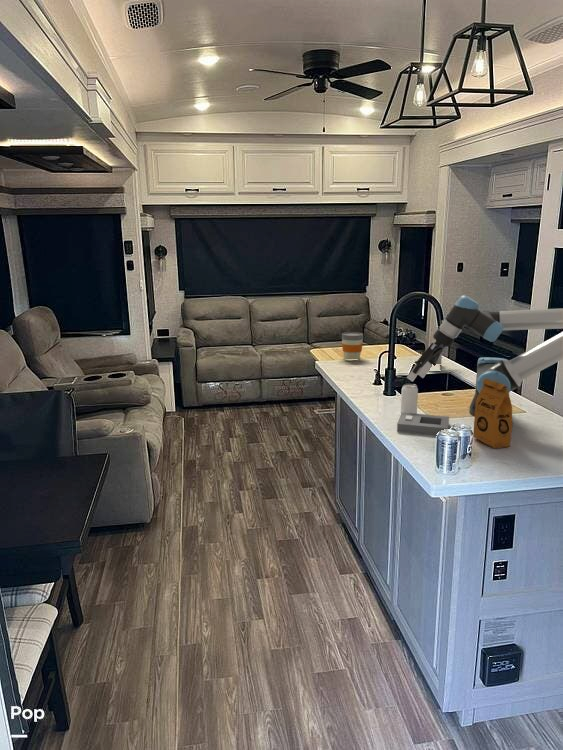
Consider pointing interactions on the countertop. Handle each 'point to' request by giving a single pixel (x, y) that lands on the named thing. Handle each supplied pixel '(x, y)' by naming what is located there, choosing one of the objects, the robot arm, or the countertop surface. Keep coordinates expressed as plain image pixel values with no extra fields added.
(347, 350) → the reusable coffee cup
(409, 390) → the can
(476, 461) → the countertop surface
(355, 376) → the countertop surface
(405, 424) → the socket plate
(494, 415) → the coffee package
